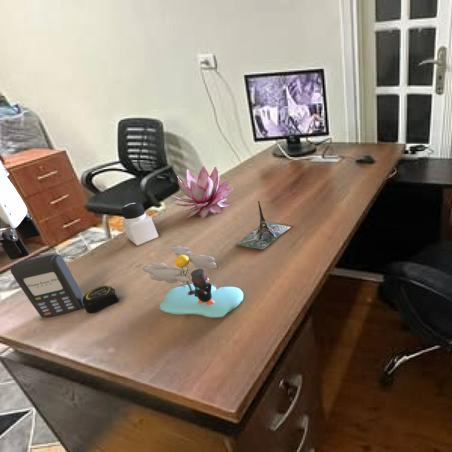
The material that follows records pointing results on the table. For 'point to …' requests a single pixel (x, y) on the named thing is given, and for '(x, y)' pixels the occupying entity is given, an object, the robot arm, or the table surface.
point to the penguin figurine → (194, 287)
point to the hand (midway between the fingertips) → (27, 246)
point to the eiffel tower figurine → (263, 234)
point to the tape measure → (99, 299)
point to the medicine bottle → (138, 224)
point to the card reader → (48, 285)
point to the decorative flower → (204, 192)
